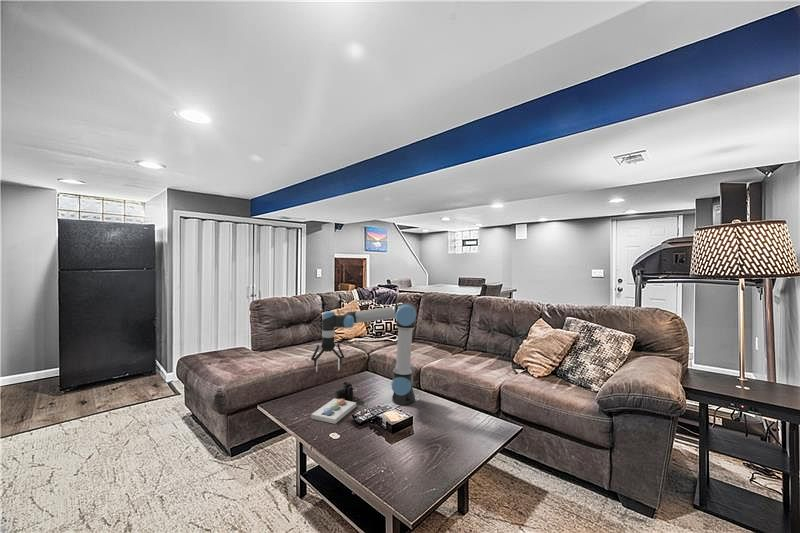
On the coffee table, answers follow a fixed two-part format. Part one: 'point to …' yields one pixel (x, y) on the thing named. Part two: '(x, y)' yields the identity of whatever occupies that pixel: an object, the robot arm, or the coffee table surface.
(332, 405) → the button sage
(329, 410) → the button slate
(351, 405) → the panel
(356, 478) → the coffee table surface
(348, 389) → the camera
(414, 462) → the coffee table surface
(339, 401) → the button terracotta
